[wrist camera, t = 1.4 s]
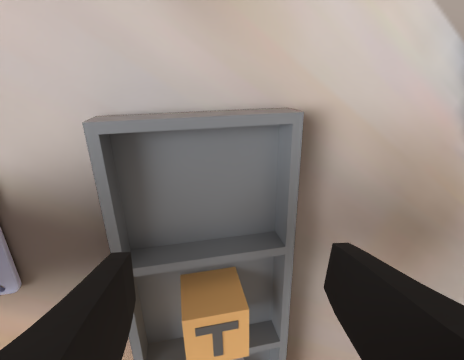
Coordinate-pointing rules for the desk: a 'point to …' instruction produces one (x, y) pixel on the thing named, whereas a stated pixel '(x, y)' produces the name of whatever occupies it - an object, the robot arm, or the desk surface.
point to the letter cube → (214, 315)
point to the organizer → (201, 214)
